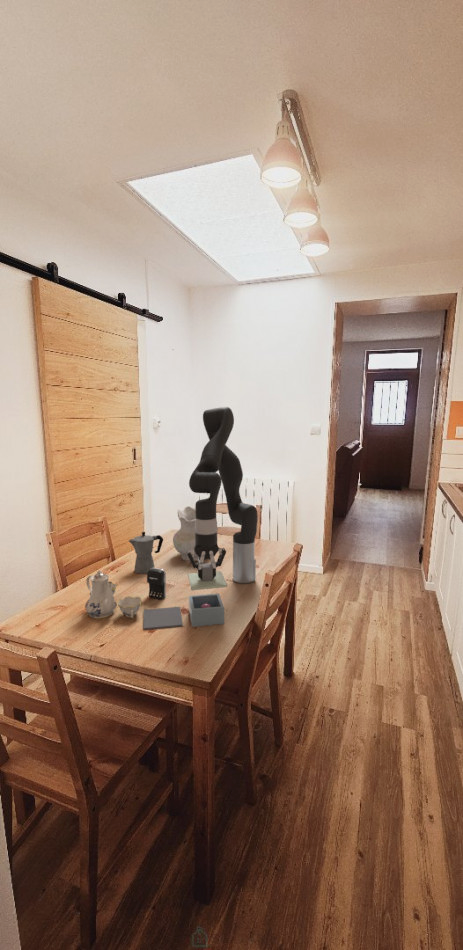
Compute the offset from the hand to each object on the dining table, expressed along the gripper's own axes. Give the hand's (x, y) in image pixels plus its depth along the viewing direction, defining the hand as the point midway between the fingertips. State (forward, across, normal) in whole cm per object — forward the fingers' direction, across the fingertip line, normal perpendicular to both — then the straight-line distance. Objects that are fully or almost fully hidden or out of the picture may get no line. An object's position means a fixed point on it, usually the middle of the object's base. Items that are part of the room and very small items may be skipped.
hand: (206, 577), depth 143 cm
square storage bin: (+15, 0, 0) cm, 15 cm away
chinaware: (+15, +34, -12) cm, 39 cm away
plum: (+12, 0, 0) cm, 12 cm away
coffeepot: (+15, +21, -48) cm, 55 cm away
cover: (+1, 0, 0) cm, 1 cm away
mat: (+14, +16, -2) cm, 21 cm away
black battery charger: (+15, +17, -19) cm, 30 cm away
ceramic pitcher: (+15, -2, -60) cm, 62 cm away
